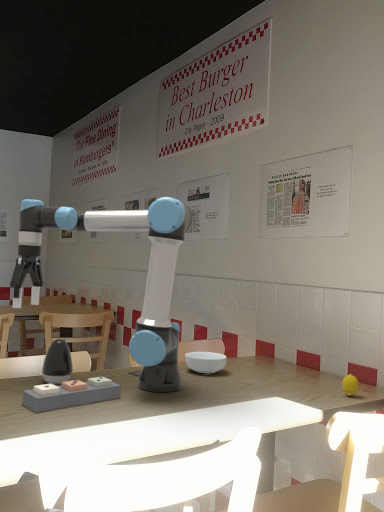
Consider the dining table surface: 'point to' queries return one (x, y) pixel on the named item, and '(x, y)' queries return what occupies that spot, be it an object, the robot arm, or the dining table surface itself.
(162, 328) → the robot arm
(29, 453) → the dining table surface
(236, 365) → the dining table surface
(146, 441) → the dining table surface
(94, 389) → the button panel
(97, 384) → the button two sage
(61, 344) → the black egg-shaped speaker
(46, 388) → the button one cream
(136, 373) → the smartphone
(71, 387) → the button three terracotta
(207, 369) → the cereal bowl
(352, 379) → the lemon
